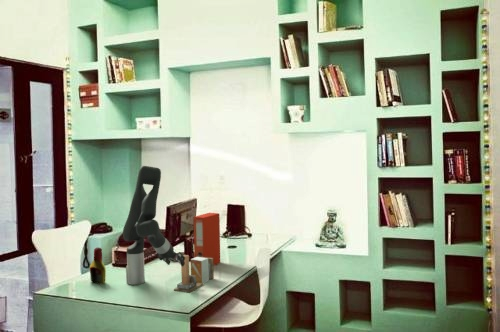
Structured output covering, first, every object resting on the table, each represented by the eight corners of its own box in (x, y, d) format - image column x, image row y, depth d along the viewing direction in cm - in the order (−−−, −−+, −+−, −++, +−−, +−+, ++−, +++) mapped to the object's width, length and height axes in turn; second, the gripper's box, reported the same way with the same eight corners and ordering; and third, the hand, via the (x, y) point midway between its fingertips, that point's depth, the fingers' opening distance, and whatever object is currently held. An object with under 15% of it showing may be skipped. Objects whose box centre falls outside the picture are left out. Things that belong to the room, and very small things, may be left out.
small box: (190, 281, 268) (190, 259, 267) (198, 278, 273) (197, 256, 273) (202, 284, 264) (201, 260, 263) (209, 281, 269) (208, 258, 268)
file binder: (220, 262, 307) (219, 213, 305) (205, 269, 292) (203, 217, 290) (210, 261, 311) (208, 212, 309) (194, 268, 296) (192, 216, 294)
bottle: (109, 283, 270) (107, 248, 268) (99, 285, 265) (97, 250, 264) (97, 279, 278) (96, 245, 276) (87, 281, 273) (86, 247, 272)
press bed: (173, 290, 253) (173, 268, 252) (198, 277, 277) (197, 256, 276) (190, 292, 249) (189, 270, 248) (213, 278, 273) (213, 258, 272)
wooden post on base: (177, 288, 253) (176, 256, 252) (185, 283, 261) (184, 252, 260) (188, 289, 251) (187, 257, 250) (196, 285, 258) (195, 254, 257)
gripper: (177, 241, 235) (190, 258, 246) (153, 239, 240) (167, 256, 252) (172, 254, 230) (185, 271, 241) (147, 252, 236) (162, 269, 247)
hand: (176, 264), depth 246 cm, fingers open, 8 cm apart
